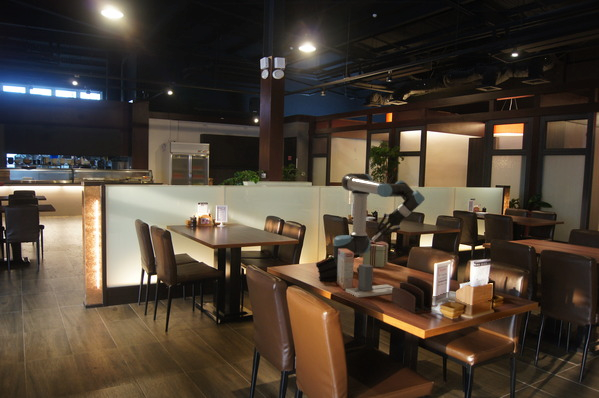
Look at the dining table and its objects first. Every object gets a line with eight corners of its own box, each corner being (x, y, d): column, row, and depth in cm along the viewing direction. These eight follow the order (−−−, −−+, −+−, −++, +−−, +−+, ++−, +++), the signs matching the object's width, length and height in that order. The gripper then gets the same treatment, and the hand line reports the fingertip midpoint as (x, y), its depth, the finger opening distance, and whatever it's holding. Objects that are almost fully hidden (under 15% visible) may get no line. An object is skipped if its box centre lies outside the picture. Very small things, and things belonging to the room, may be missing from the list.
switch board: (386, 286, 249) (387, 284, 249) (400, 292, 238) (400, 289, 238) (345, 291, 237) (345, 288, 237) (357, 297, 226) (357, 294, 226)
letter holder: (407, 300, 224) (408, 273, 223) (431, 312, 205) (433, 283, 205) (391, 301, 221) (392, 274, 220) (414, 314, 202) (415, 284, 201)
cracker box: (353, 289, 241) (354, 252, 240) (342, 290, 240) (344, 252, 239) (346, 283, 255) (347, 248, 253) (336, 283, 254) (337, 248, 252)
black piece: (343, 278, 258) (333, 256, 257) (323, 288, 257) (313, 266, 255) (341, 277, 262) (332, 255, 260) (322, 286, 261) (312, 264, 259)
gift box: (388, 263, 316) (389, 239, 315) (384, 268, 299) (385, 243, 298) (365, 261, 322) (366, 238, 321) (359, 265, 305) (360, 241, 304)
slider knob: (366, 287, 239) (367, 263, 238) (372, 290, 234) (373, 266, 233) (357, 288, 236) (358, 264, 236) (363, 291, 231) (364, 267, 230)
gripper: (393, 206, 249) (364, 233, 255) (410, 222, 249) (380, 249, 255) (393, 203, 256) (364, 230, 262) (409, 218, 256) (380, 245, 262)
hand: (372, 239), depth 258 cm, fingers closed
